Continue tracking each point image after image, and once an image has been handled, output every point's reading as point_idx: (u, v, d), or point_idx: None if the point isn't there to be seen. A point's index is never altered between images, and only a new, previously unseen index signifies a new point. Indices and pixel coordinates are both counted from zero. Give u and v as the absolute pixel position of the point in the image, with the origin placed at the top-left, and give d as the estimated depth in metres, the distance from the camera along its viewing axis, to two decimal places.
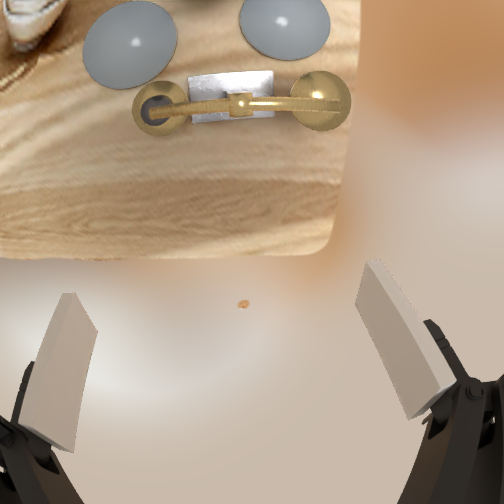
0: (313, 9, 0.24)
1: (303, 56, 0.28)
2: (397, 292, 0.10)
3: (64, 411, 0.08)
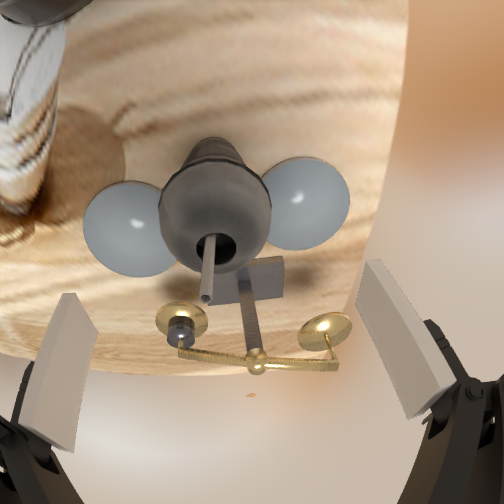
0: (333, 192, 0.29)
1: (315, 244, 0.33)
2: (397, 292, 0.10)
3: (64, 411, 0.08)
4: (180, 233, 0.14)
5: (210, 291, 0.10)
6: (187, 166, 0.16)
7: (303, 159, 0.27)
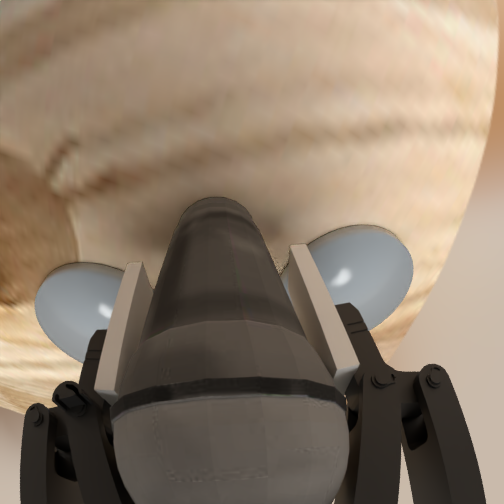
0: (394, 273, 0.19)
1: None
2: (313, 274, 0.11)
3: None
4: None
5: None
6: (153, 394, 0.05)
7: (361, 232, 0.17)
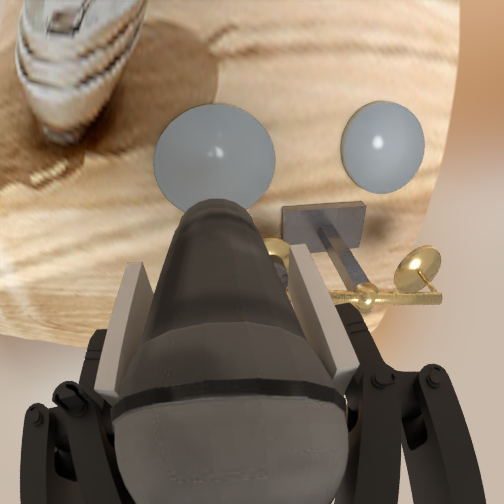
0: (412, 137, 0.27)
1: (395, 189, 0.31)
2: (312, 274, 0.11)
3: None
4: None
5: None
6: (154, 395, 0.05)
7: (390, 102, 0.25)
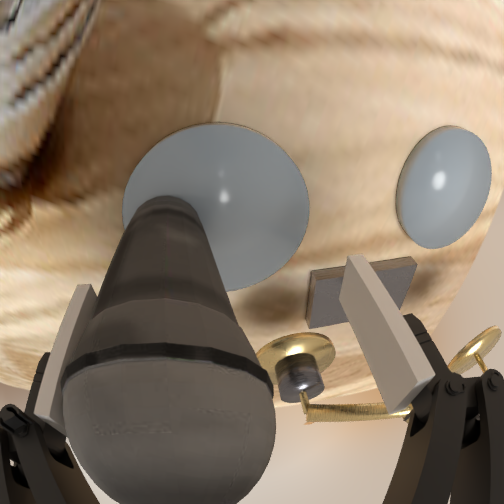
0: (480, 175, 0.18)
1: (451, 241, 0.22)
2: (377, 286, 0.10)
3: None
4: (111, 497, 0.05)
5: None
6: (85, 360, 0.06)
7: (462, 129, 0.16)
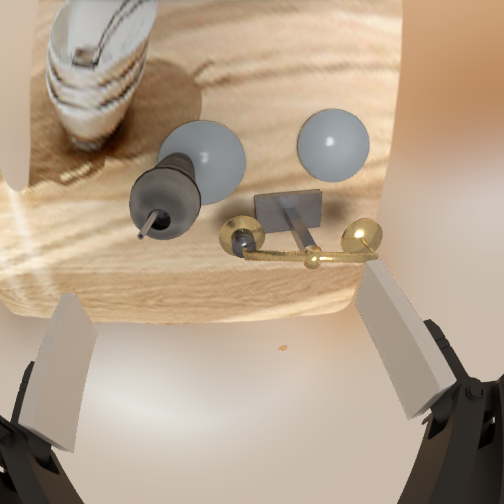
0: (357, 135, 0.36)
1: (346, 178, 0.40)
2: (397, 292, 0.10)
3: (64, 411, 0.08)
4: (138, 211, 0.23)
5: (143, 233, 0.19)
6: (145, 172, 0.25)
7: (335, 109, 0.34)
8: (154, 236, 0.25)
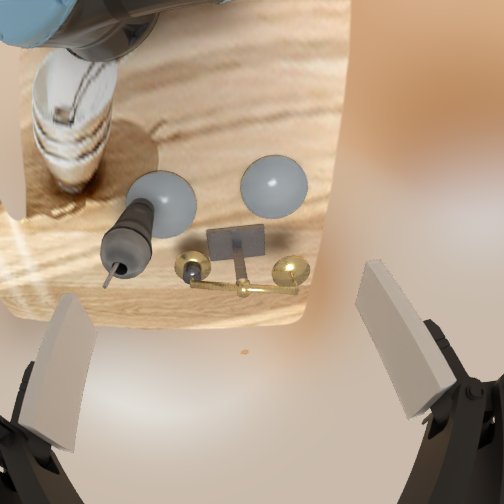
0: (295, 178, 0.45)
1: (285, 215, 0.49)
2: (397, 292, 0.10)
3: (64, 411, 0.08)
4: (105, 261, 0.32)
5: (106, 284, 0.28)
6: (109, 230, 0.33)
7: (273, 156, 0.43)
8: (118, 277, 0.33)
